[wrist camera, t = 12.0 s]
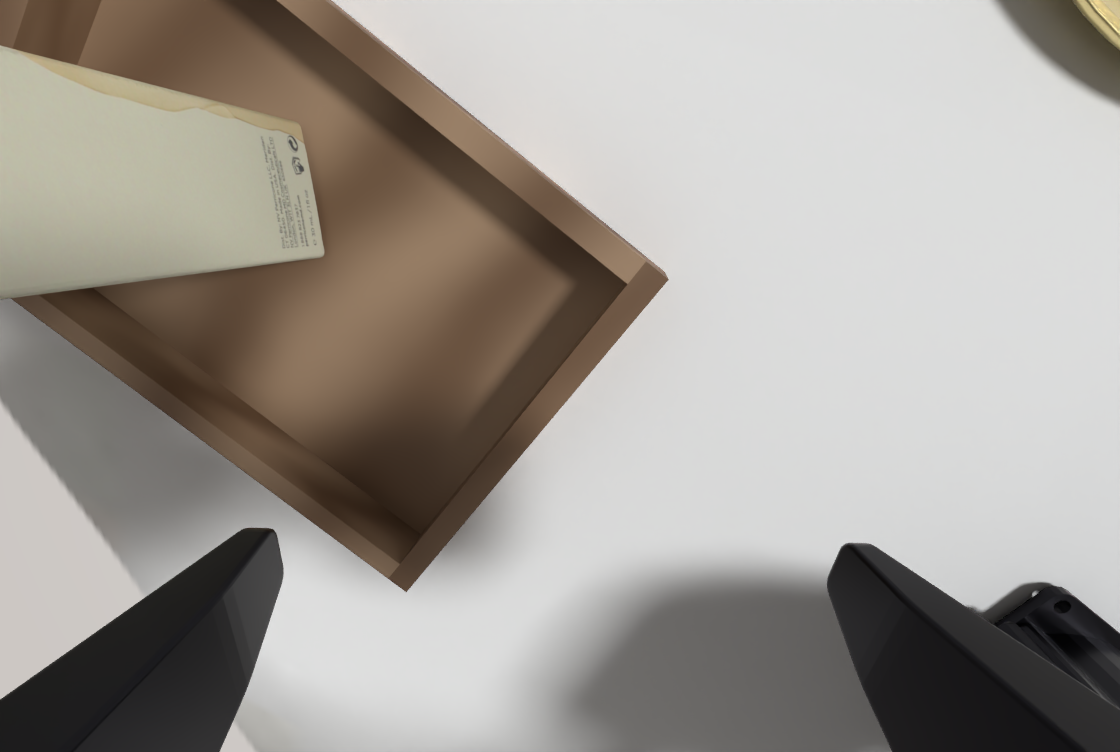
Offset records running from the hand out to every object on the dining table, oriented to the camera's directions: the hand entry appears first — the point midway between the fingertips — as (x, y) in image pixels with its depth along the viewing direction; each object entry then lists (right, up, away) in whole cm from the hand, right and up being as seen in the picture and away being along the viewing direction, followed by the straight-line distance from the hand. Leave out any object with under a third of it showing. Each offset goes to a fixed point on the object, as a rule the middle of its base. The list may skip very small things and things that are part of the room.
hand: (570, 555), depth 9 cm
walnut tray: (-9, +7, +10) cm, 15 cm away
